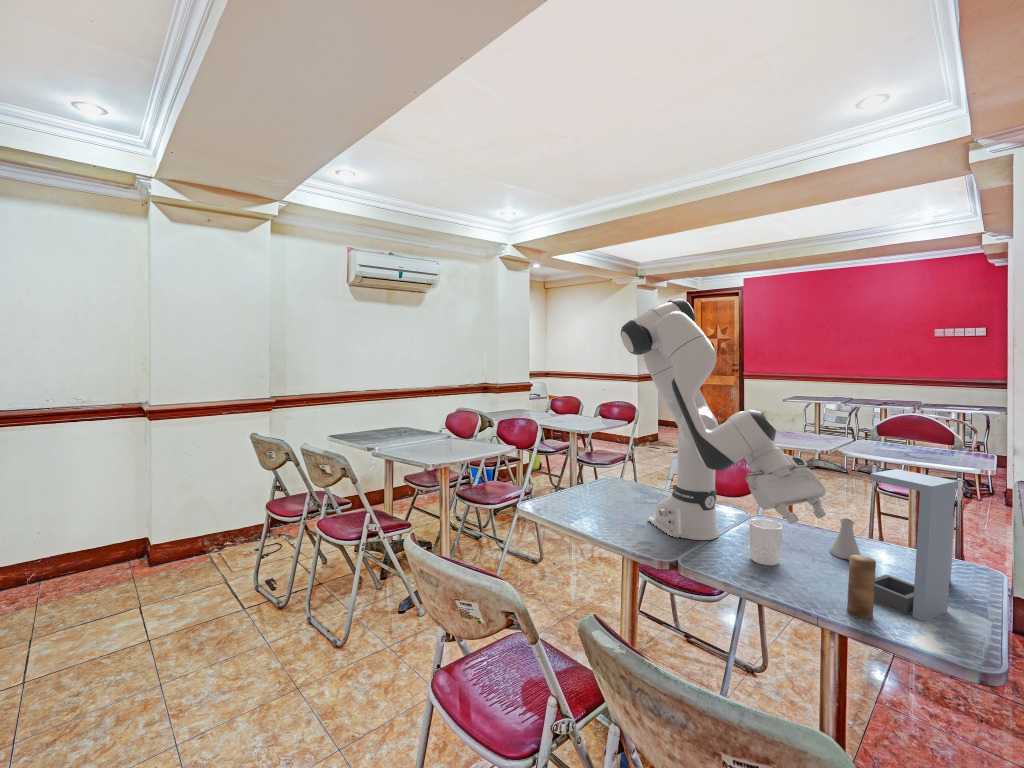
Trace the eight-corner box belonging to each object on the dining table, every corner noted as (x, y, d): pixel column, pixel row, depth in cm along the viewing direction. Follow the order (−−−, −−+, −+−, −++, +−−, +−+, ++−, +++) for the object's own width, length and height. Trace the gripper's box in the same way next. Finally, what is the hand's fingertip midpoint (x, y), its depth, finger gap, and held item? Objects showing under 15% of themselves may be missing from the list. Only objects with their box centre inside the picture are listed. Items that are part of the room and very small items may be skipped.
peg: (842, 611, 105) (844, 556, 104) (855, 606, 107) (857, 553, 106) (864, 621, 101) (867, 565, 100) (877, 616, 103) (880, 561, 102)
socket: (863, 596, 111) (864, 581, 111) (885, 588, 115) (886, 574, 114) (906, 614, 104) (907, 598, 103) (928, 606, 107) (929, 590, 107)
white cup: (743, 560, 130) (745, 524, 129) (753, 551, 136) (754, 516, 135) (776, 569, 125) (777, 531, 124) (784, 559, 131) (786, 523, 130)
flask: (851, 550, 137) (853, 515, 136) (867, 561, 130) (869, 525, 129) (824, 549, 137) (825, 515, 137) (838, 560, 130) (840, 524, 130)
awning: (864, 596, 111) (870, 473, 109) (890, 587, 115) (896, 468, 113) (923, 621, 101) (932, 486, 99) (949, 610, 105) (958, 481, 103)
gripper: (750, 466, 116) (786, 519, 107) (808, 458, 124) (846, 507, 115) (734, 480, 120) (768, 532, 112) (791, 471, 128) (827, 519, 120)
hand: (808, 519), depth 114 cm, fingers open, 8 cm apart
